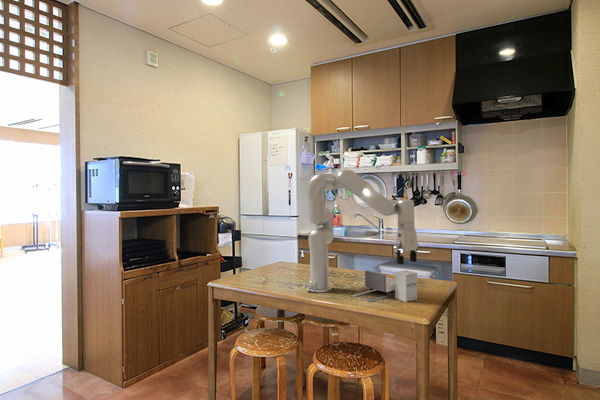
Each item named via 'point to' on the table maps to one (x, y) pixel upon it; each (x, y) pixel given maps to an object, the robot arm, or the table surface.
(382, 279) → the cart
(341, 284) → the table surface
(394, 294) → the rail track
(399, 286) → the supplement box
